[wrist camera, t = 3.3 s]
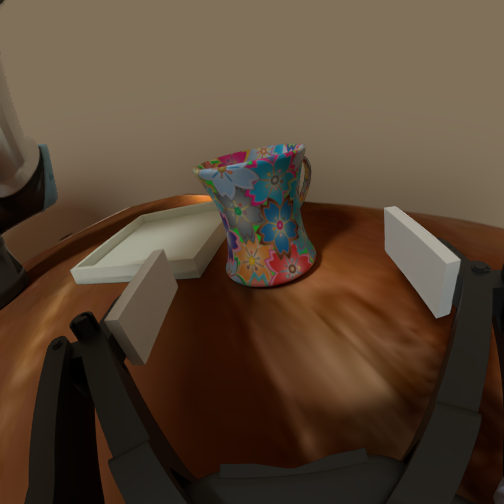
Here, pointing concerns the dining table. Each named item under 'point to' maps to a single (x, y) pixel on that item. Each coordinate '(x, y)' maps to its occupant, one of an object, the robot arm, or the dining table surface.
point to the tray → (157, 245)
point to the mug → (262, 212)
